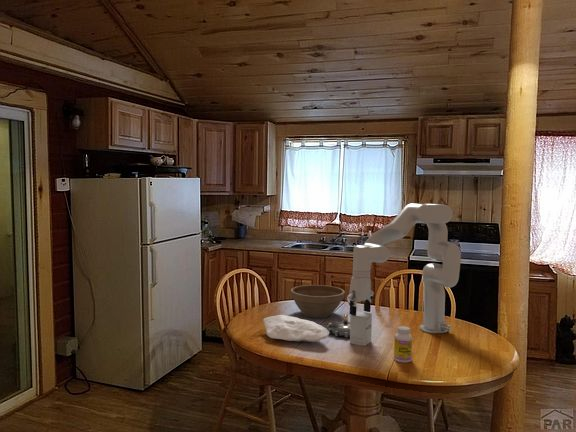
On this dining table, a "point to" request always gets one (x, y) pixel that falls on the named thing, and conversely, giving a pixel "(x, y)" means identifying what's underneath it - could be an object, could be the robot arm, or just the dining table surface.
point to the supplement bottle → (403, 345)
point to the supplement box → (360, 328)
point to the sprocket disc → (340, 327)
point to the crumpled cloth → (294, 329)
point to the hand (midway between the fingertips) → (360, 313)
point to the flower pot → (317, 299)
